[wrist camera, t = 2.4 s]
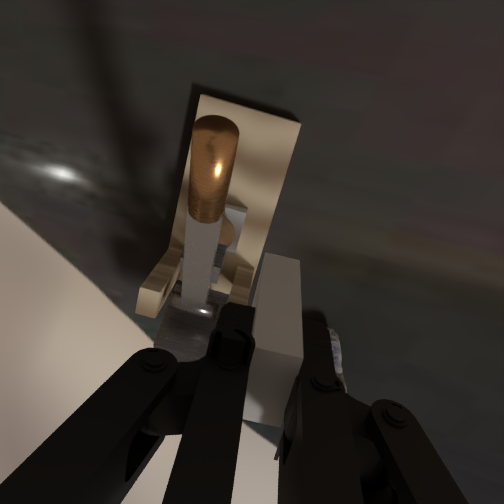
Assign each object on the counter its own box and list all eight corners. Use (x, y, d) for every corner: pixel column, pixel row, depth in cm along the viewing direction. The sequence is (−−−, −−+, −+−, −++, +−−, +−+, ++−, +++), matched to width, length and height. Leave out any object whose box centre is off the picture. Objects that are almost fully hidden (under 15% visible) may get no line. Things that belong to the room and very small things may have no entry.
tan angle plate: (203, 93, 45) (171, 97, 33) (300, 122, 45) (304, 136, 33) (166, 270, 53) (129, 324, 41) (248, 293, 53) (236, 354, 41)
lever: (184, 76, 25) (138, 162, 21) (280, 104, 25) (253, 195, 21) (175, 301, 52) (154, 358, 47) (221, 315, 52) (205, 373, 48)
